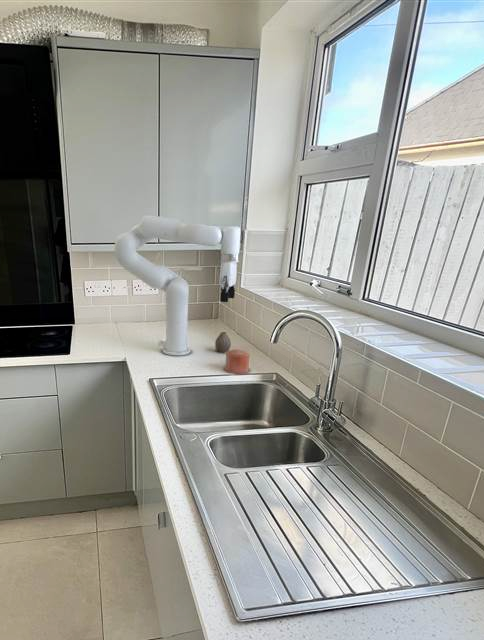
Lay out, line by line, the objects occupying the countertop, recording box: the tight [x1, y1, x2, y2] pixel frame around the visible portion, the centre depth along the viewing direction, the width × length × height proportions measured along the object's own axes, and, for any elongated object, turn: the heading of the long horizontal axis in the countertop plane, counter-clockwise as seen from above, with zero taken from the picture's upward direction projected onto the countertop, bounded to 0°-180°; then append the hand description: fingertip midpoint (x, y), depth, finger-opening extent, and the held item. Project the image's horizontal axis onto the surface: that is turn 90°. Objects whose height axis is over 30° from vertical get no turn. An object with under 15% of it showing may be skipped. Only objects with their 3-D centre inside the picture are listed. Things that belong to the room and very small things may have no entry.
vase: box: [214, 331, 232, 354], centre depth 183 cm, size 7×7×9 cm
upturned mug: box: [224, 349, 250, 375], centre depth 162 cm, size 12×9×7 cm
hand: (227, 299), depth 173 cm, fingers open, 9 cm apart
